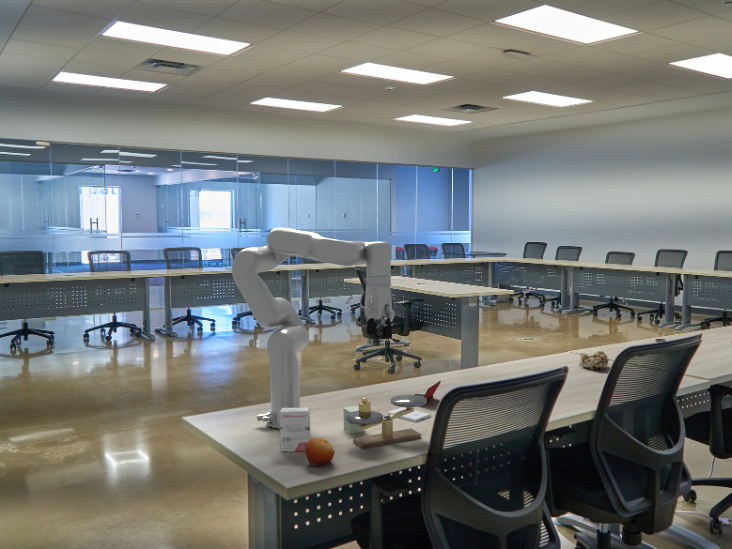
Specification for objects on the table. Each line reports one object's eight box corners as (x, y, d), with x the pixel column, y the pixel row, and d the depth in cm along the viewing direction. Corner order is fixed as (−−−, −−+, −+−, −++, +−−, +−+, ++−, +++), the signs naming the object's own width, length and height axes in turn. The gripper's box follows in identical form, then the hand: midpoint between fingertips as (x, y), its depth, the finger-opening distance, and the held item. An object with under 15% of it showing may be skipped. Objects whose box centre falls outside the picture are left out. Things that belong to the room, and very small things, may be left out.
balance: (356, 453, 172) (355, 405, 171) (340, 441, 182) (339, 395, 181) (433, 438, 183) (433, 393, 182) (415, 428, 193) (414, 385, 192)
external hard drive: (403, 411, 214) (430, 418, 205) (387, 416, 208) (415, 423, 199) (403, 406, 214) (430, 413, 205) (387, 411, 208) (415, 419, 199)
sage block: (350, 434, 189) (350, 411, 188) (343, 429, 193) (343, 407, 193) (364, 431, 191) (364, 409, 190) (358, 427, 195) (357, 405, 195)
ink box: (311, 445, 179) (310, 406, 178) (310, 451, 174) (309, 411, 173) (281, 446, 178) (281, 406, 178) (279, 452, 174) (279, 411, 173)
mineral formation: (608, 365, 279) (615, 371, 264) (578, 369, 281) (583, 375, 267) (605, 348, 279) (611, 352, 264) (575, 352, 282) (580, 357, 267)
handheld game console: (415, 396, 232) (415, 377, 231) (441, 399, 227) (441, 380, 226) (401, 404, 221) (401, 384, 220) (429, 408, 216) (429, 388, 215)
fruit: (298, 454, 168) (313, 429, 168) (323, 467, 169) (337, 442, 169) (297, 465, 160) (313, 439, 160) (323, 478, 161) (338, 453, 160)
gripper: (355, 280, 193) (355, 333, 194) (381, 284, 177) (382, 341, 179) (375, 279, 196) (376, 331, 197) (403, 282, 181) (404, 339, 182)
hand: (379, 336), depth 188 cm, fingers open, 9 cm apart
